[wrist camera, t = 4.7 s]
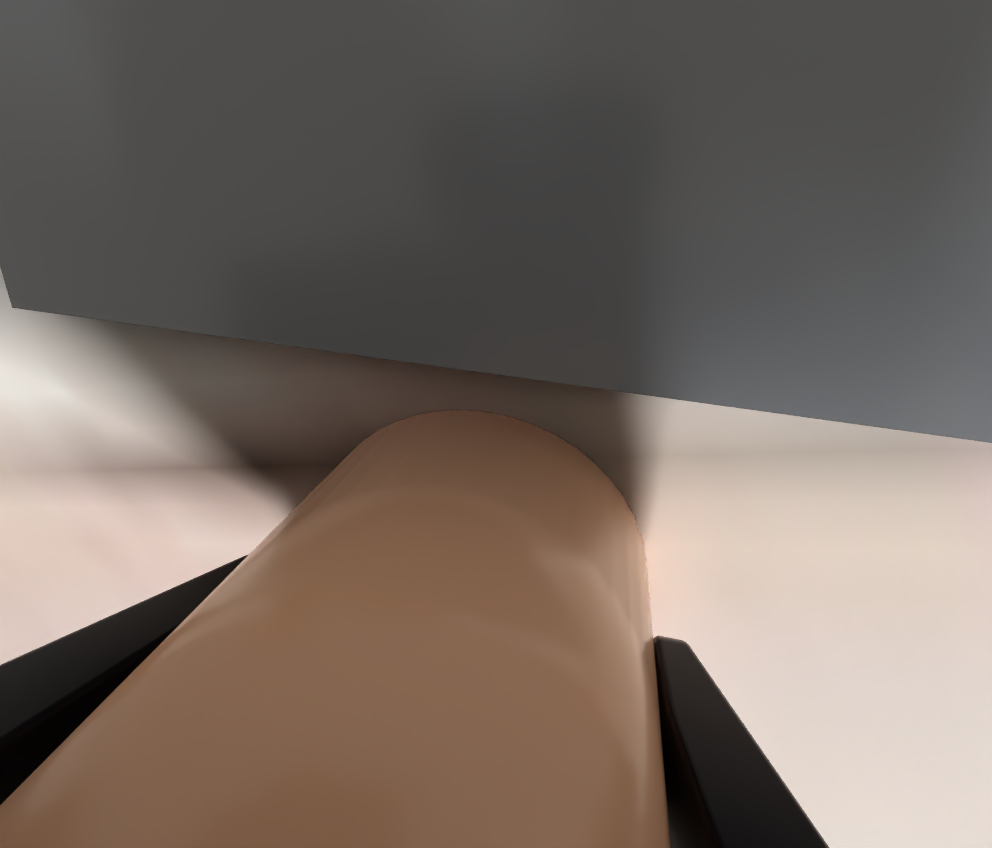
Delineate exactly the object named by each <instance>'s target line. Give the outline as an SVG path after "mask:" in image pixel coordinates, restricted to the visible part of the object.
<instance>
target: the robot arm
mask: <svg viewBox="0 0 992 848" xmlns="http://www.w3.org/2000/svg"><path fill="white" fill-rule="evenodd" d="M247 556H248V555H246V556H244V557H241V558H239V559H237V560H234V561H232V562H230V563H228V564H225V565H223V566H221V567H219V568H217V569H214V570H212V571H210V572H208V573H205V574H203V575H201V576H199V577H196V578H194V579H192V580H190V581H187V582H185V583H183V584H181V585H178V586H176V587H174V588H172V589H170V590H167V591H165V592H163V593H161V594H158V595H156V596H154V597H152V598H149V599H147V600H145V601H143V602H140V603H138V604H136V605H134V606H132V607H129V608H127V609H125V610H123V611H120V612H118V613H116V614H114V615H111V616H109V617H107V618H105V619H102V620H100V621H98V622H96V623H93V624H91V625H89V626H87V627H84V628H82V629H80V630H78V631H76V632H73V633H71V634H69V635H67V636H64V637H62V638H60V639H58V640H55V641H53V642H51V643H49V644H46V645H44V646H42V647H40V648H37V649H35V650H33V651H31V652H28V653H26V654H24V655H22V656H20V657H17V658H15V659H13V660H11V661H8V662H6V663H4V664H2V665H0V805H1V804H2V803H3V802H4V801H5V800H6V799H7V798H8V797H9V796H10V795H11V794H12V793H13V792H14V791H15V790H16V789H17V788H18V787H19V786H20V785H21V784H22V783H23V782H24V781H25V780H26V779H27V778H28V777H29V776H30V775H31V774H32V773H33V772H34V771H35V770H36V769H37V768H38V767H39V766H40V765H41V764H42V763H43V762H44V761H45V760H46V759H47V758H48V757H49V756H50V755H51V754H52V753H53V752H54V751H55V750H56V749H57V748H58V747H59V746H60V745H61V744H62V743H63V742H64V741H65V740H66V739H67V738H68V737H69V736H70V735H71V733H72V732H73V731H74V730H75V729H76V728H77V727H78V726H79V725H80V724H81V723H82V722H83V721H84V720H85V719H86V718H87V717H88V716H89V715H90V714H91V713H92V712H93V711H94V710H95V709H96V708H97V707H98V706H99V705H100V704H101V703H102V702H103V701H104V700H105V699H106V698H107V697H108V696H109V695H110V694H111V693H112V692H113V691H114V690H115V689H116V688H117V687H118V686H119V685H120V684H121V683H122V682H123V681H124V680H125V679H126V678H127V677H128V676H129V675H130V674H131V673H132V672H133V671H134V670H135V669H136V668H137V667H138V666H139V665H140V664H141V663H142V662H143V661H144V660H145V659H146V658H147V657H148V656H149V655H150V654H151V653H152V652H153V651H154V650H155V649H156V648H157V647H158V646H159V645H160V644H161V643H162V642H163V641H164V640H165V639H166V638H167V637H168V636H169V635H170V634H171V633H172V632H173V631H174V630H175V629H176V628H177V627H178V626H179V625H180V624H181V623H182V622H183V621H184V620H185V619H186V618H187V617H188V616H189V615H190V614H191V613H192V612H193V611H194V610H195V609H196V608H197V607H198V606H199V605H200V604H201V603H202V601H203V600H204V599H205V598H206V597H207V596H208V595H209V594H210V593H211V592H212V591H213V590H214V589H215V588H216V587H217V586H218V585H219V584H220V583H221V582H222V581H223V580H224V579H225V578H226V577H227V576H228V575H229V574H230V573H231V572H232V571H233V570H234V569H235V568H236V567H237V566H238V565H239V564H240V563H241V562H242V561H243V560H244V559H245V558H246V557H247ZM653 644H654V656H655V667H656V679H657V691H658V703H659V714H660V726H661V738H662V750H663V761H664V773H665V785H666V797H667V808H668V820H669V832H670V844H671V848H829V847H828V845H827V844H826V842H825V841H824V839H823V838H822V836H821V835H820V834H819V832H818V831H817V829H816V828H815V826H814V825H813V823H812V822H811V821H810V819H809V818H808V816H807V815H806V813H805V812H804V810H803V809H802V808H801V806H800V805H799V803H798V802H797V800H796V799H795V798H794V796H793V795H792V793H791V792H790V790H789V789H788V787H787V786H786V785H785V783H784V782H783V780H782V779H781V777H780V776H779V774H778V773H777V772H776V770H775V769H774V767H773V766H772V764H771V763H770V761H769V760H768V759H767V757H766V756H765V754H764V753H763V751H762V750H761V748H760V747H759V746H758V744H757V743H756V741H755V740H754V738H753V737H752V736H751V734H750V733H749V731H748V730H747V728H746V727H745V725H744V724H743V723H742V721H741V720H740V718H739V717H738V715H737V714H736V712H735V711H734V710H733V708H732V707H731V705H730V704H729V702H728V701H727V699H726V698H725V697H724V695H723V694H722V692H721V691H720V689H719V688H718V687H717V685H716V684H715V682H714V681H713V679H712V678H711V676H710V675H709V674H708V672H707V671H706V669H705V668H704V666H703V665H702V663H701V662H700V661H699V659H698V658H697V656H696V655H695V653H694V652H693V650H692V649H691V648H690V646H689V645H688V644H687V643H686V642H684V641H682V640H678V639H673V638H668V637H663V636H657V637H655V638H654V639H653Z"/></svg>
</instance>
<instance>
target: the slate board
mask: <svg viewBox="0 0 992 848" xmlns="http://www.w3.org/2000/svg"><path fill="white" fill-rule="evenodd" d="M0 266H1V270H2V273H3V277H4V280H5V284H6V287H7V291H8V294H9V298H10V301H11V305H12V308H19V309H26V310H33V311H41V312H48V313H55V314H62V315H70V316H77V317H84V318H91V319H99V320H106V321H113V322H120V323H128V324H135V325H142V326H149V327H157V328H164V329H171V330H178V331H186V332H193V333H200V334H207V335H215V336H222V337H229V338H236V339H243V340H251V341H258V342H265V343H272V344H280V345H287V346H294V347H301V348H309V349H316V350H323V351H330V352H338V353H345V354H352V355H359V356H367V357H374V358H381V359H388V360H396V361H403V362H410V363H417V364H425V365H432V366H439V367H446V368H454V369H461V370H468V371H475V372H482V373H490V374H497V375H504V376H511V377H519V378H526V379H533V380H540V381H548V382H555V383H562V384H569V385H577V386H584V387H591V388H598V389H606V390H613V391H620V392H627V393H635V394H642V395H649V396H656V397H664V398H671V399H678V400H685V401H693V402H700V403H707V404H714V405H721V406H729V407H736V408H743V409H750V410H758V411H765V412H772V413H779V414H787V415H794V416H801V417H808V418H816V419H823V420H830V421H837V422H845V423H852V424H859V425H866V426H874V427H881V428H888V429H895V430H903V431H910V432H917V433H924V434H932V435H939V436H946V437H953V438H961V439H968V440H975V441H982V442H989V443H992V0H0Z"/></svg>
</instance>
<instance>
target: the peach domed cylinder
mask: <svg viewBox="0 0 992 848" xmlns="http://www.w3.org/2000/svg"><path fill="white" fill-rule="evenodd" d="M0 848H671V844H670V832H669V820H668V808H667V797H666V785H665V773H664V761H663V750H662V738H661V726H660V714H659V703H658V691H657V679H656V667H655V656H654V644H653V632H652V620H651V608H650V597H649V585H648V573H647V561H646V555H645V549H644V543H643V539H642V536H641V533H640V530H639V527H638V524H637V521H636V519H635V517H634V515H633V513H632V511H631V509H630V507H629V505H628V503H627V502H626V500H625V498H624V497H623V496H622V494H621V493H620V491H619V490H618V489H617V487H616V486H615V484H614V483H613V482H612V481H611V480H610V478H609V477H608V476H607V475H606V474H605V473H604V472H603V471H602V470H601V469H600V468H599V467H598V466H597V465H596V464H595V463H594V462H593V461H592V460H590V459H589V458H588V457H587V456H585V455H584V454H583V453H582V452H581V451H579V450H578V449H577V448H575V447H574V446H572V445H570V444H569V443H567V442H566V441H564V440H563V439H561V438H559V437H558V436H556V435H554V434H552V433H550V432H548V431H546V430H544V429H541V428H539V427H537V426H535V425H533V424H530V423H527V422H524V421H521V420H518V419H515V418H512V417H508V416H503V415H498V414H494V413H489V412H480V411H469V410H450V411H436V412H430V413H424V414H419V415H415V416H412V417H409V418H406V419H402V420H399V421H396V422H394V423H392V424H390V425H388V426H386V427H384V428H382V429H380V430H378V431H377V432H375V433H374V434H372V435H371V436H369V437H368V438H366V439H365V440H363V441H362V442H361V443H360V444H359V445H358V446H357V447H356V448H355V449H354V450H353V451H352V452H350V453H349V454H348V455H347V456H346V457H345V458H344V459H343V460H342V461H341V462H340V463H339V464H338V465H337V466H336V467H335V468H334V469H333V471H332V472H331V473H330V474H329V475H328V476H327V477H326V478H325V479H324V480H323V481H322V482H321V483H320V484H319V485H318V486H317V487H316V488H315V489H314V490H313V491H312V492H311V493H310V494H309V495H308V496H307V497H306V498H305V499H304V500H303V501H302V502H301V503H300V504H299V505H298V506H297V507H296V508H295V509H294V510H293V511H292V512H291V513H290V514H289V515H288V516H287V517H286V518H285V519H284V520H283V521H282V522H281V523H280V524H279V525H278V526H277V527H276V528H275V529H274V530H273V531H272V532H271V533H270V534H269V535H268V536H267V537H266V538H265V539H264V540H263V541H262V542H261V543H260V544H259V545H258V546H257V547H256V548H255V549H254V550H253V551H252V552H251V553H250V554H249V555H248V556H247V557H246V558H245V559H244V560H243V561H242V562H241V563H240V564H239V565H238V566H237V567H236V568H235V569H234V570H233V571H232V572H231V573H230V574H229V575H228V576H227V577H226V578H225V579H224V580H223V581H222V582H221V583H220V584H219V585H218V586H217V587H216V588H215V589H214V590H213V591H212V592H211V593H210V594H209V595H208V596H207V597H206V598H205V599H204V600H203V601H202V603H201V604H200V605H199V606H198V607H197V608H196V609H195V610H194V611H193V612H192V613H191V614H190V615H189V616H188V617H187V618H186V619H185V620H184V621H183V622H182V623H181V624H180V625H179V626H178V627H177V628H176V629H175V630H174V631H173V632H172V633H171V634H170V635H169V636H168V637H167V638H166V639H165V640H164V641H163V642H162V643H161V644H160V645H159V646H158V647H157V648H156V649H155V650H154V651H153V652H152V653H151V654H150V655H149V656H148V657H147V658H146V659H145V660H144V661H143V662H142V663H141V664H140V665H139V666H138V667H137V668H136V669H135V670H134V671H133V672H132V673H131V674H130V675H129V676H128V677H127V678H126V679H125V680H124V681H123V682H122V683H121V684H120V685H119V686H118V687H117V688H116V689H115V690H114V691H113V692H112V693H111V694H110V695H109V696H108V697H107V698H106V699H105V700H104V701H103V702H102V703H101V704H100V705H99V706H98V707H97V708H96V709H95V710H94V711H93V712H92V713H91V714H90V715H89V716H88V717H87V718H86V719H85V720H84V721H83V722H82V723H81V724H80V725H79V726H78V727H77V728H76V729H75V730H74V731H73V732H72V733H71V735H70V736H69V737H68V738H67V739H66V740H65V741H64V742H63V743H62V744H61V745H60V746H59V747H58V748H57V749H56V750H55V751H54V752H53V753H52V754H51V755H50V756H49V757H48V758H47V759H46V760H45V761H44V762H43V763H42V764H41V765H40V766H39V767H38V768H37V769H36V770H35V771H34V772H33V773H32V774H31V775H30V776H29V777H28V778H27V779H26V780H25V781H24V782H23V783H22V784H21V785H20V786H19V787H18V788H17V789H16V790H15V791H14V792H13V793H12V794H11V795H10V796H9V797H8V798H7V799H6V800H5V801H4V802H3V803H2V804H1V805H0Z"/></svg>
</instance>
